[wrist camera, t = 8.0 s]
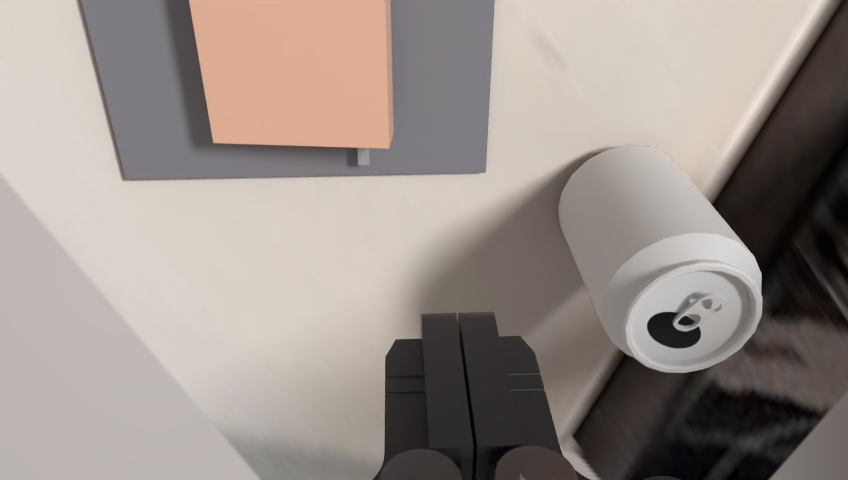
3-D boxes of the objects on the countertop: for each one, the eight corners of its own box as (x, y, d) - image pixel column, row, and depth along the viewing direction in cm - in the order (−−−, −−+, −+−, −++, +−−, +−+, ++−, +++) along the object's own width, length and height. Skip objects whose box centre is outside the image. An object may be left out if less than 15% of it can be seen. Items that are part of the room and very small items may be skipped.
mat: (501, -153, 31) (504, -152, 30) (484, 169, 40) (487, 178, 39) (47, -153, 31) (35, -151, 30) (128, 176, 39) (121, 186, 38)
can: (529, 216, 42) (576, 349, 31) (610, 114, 38) (691, 224, 28) (624, 269, 44) (697, 408, 34) (708, 177, 41) (816, 299, 31)
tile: (383, -68, 30) (176, -71, 30) (389, 148, 35) (213, 143, 36) (389, -75, 32) (194, -77, 32) (394, 131, 37) (226, 126, 37)
